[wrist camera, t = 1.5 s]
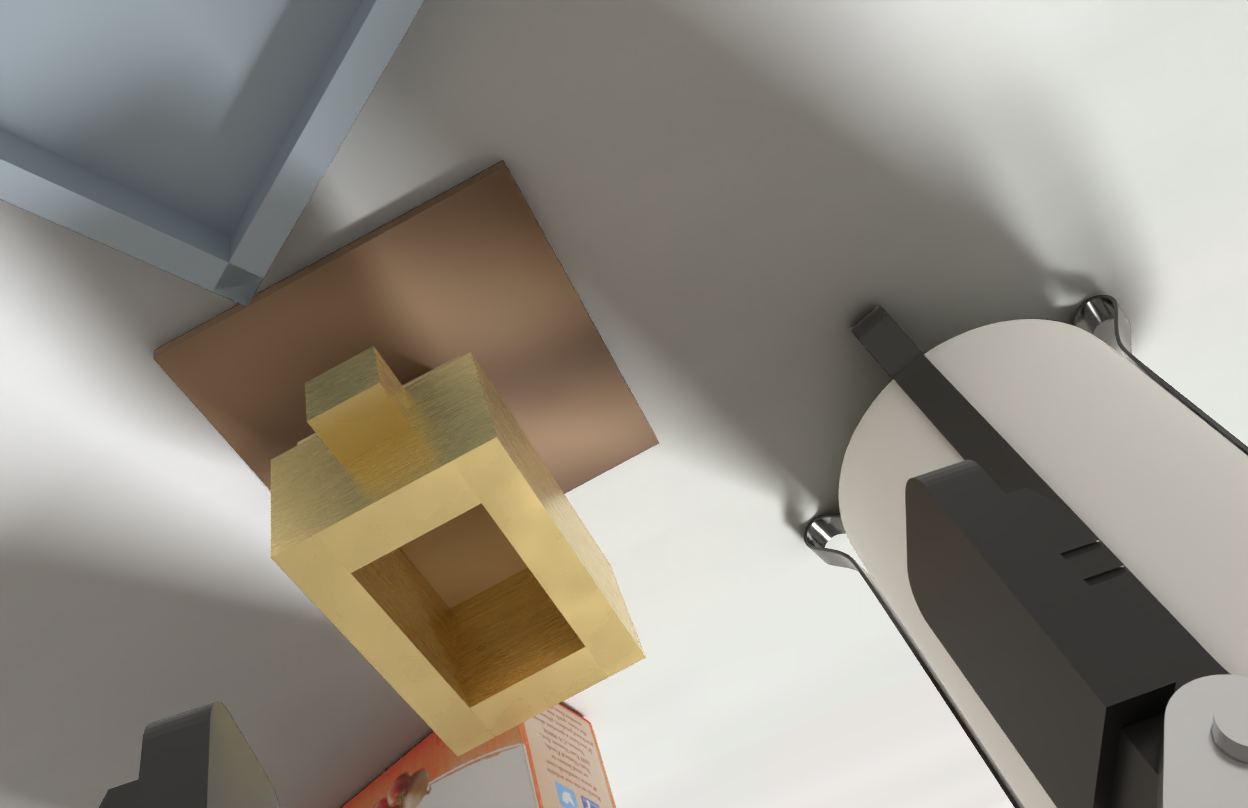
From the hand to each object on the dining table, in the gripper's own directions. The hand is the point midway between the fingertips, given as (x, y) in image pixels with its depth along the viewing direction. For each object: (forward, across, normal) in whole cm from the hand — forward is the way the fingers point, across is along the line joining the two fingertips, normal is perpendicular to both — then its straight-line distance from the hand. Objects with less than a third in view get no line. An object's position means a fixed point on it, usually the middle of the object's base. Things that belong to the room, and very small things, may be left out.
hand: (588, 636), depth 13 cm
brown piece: (+23, +2, +11) cm, 25 cm away
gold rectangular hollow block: (+16, +2, +11) cm, 20 cm away
